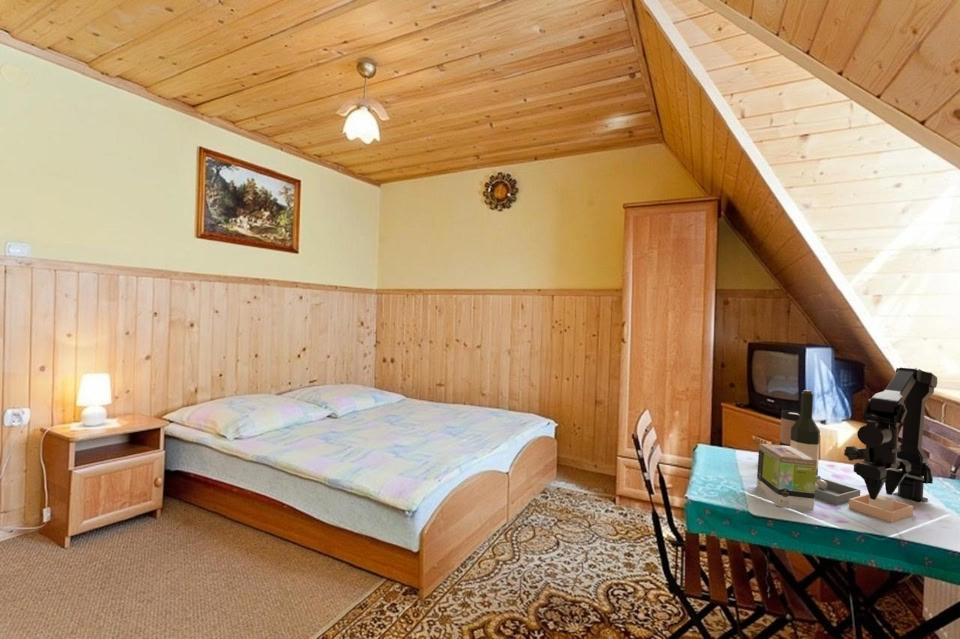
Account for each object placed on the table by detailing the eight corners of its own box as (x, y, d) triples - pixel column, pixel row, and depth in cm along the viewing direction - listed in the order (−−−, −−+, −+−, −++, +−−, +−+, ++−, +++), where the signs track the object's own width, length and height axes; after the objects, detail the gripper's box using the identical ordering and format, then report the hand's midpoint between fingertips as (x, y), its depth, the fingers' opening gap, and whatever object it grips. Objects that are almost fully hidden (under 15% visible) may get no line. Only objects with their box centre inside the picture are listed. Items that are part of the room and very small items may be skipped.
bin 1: (785, 475, 160) (786, 465, 160) (859, 499, 140) (860, 488, 140) (762, 480, 154) (763, 470, 154) (836, 506, 134) (837, 494, 134)
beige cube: (875, 507, 134) (876, 493, 134) (892, 512, 130) (893, 498, 130) (868, 509, 132) (869, 495, 132) (885, 515, 128) (886, 500, 128)
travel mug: (779, 461, 176) (782, 409, 176) (804, 466, 172) (807, 412, 171) (777, 466, 170) (779, 412, 170) (802, 471, 166) (805, 415, 165)
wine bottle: (785, 471, 164) (790, 387, 164) (813, 475, 161) (818, 390, 161) (791, 479, 157) (796, 391, 156) (821, 483, 154) (826, 393, 153)
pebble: (809, 489, 146) (809, 479, 146) (820, 493, 143) (821, 482, 143) (803, 490, 145) (804, 480, 145) (814, 494, 142) (815, 484, 142)
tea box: (815, 511, 130) (818, 459, 130) (776, 507, 132) (779, 456, 132) (790, 491, 145) (792, 444, 145) (755, 488, 147) (757, 441, 147)
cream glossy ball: (818, 487, 148) (818, 477, 148) (829, 490, 146) (829, 480, 146) (812, 488, 147) (813, 478, 147) (823, 492, 144) (824, 482, 144)
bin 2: (869, 502, 138) (870, 493, 138) (912, 516, 129) (913, 506, 129) (848, 509, 133) (849, 498, 133) (891, 524, 124) (892, 513, 124)
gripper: (866, 432, 142) (863, 482, 142) (833, 437, 134) (830, 491, 134) (913, 442, 132) (910, 496, 132) (881, 448, 124) (877, 506, 124)
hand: (880, 496), depth 131 cm, fingers open, 9 cm apart
